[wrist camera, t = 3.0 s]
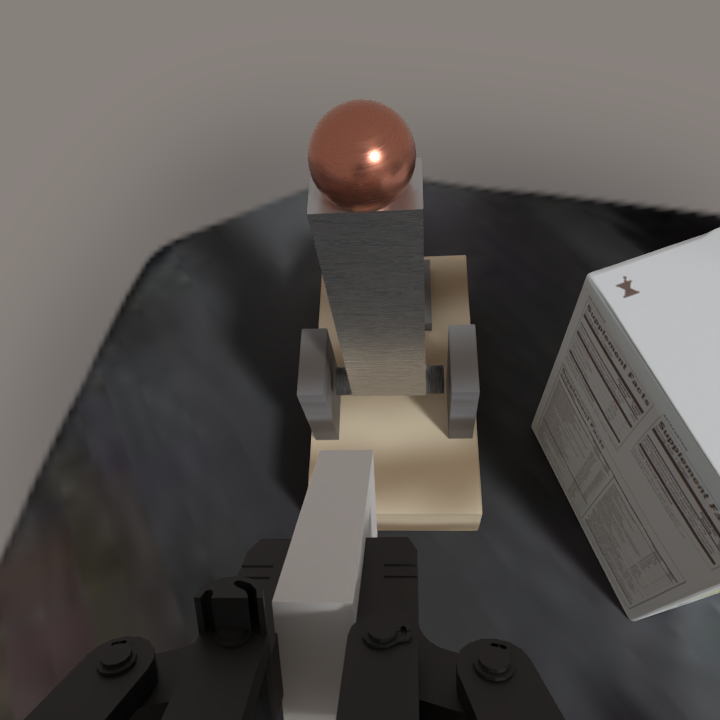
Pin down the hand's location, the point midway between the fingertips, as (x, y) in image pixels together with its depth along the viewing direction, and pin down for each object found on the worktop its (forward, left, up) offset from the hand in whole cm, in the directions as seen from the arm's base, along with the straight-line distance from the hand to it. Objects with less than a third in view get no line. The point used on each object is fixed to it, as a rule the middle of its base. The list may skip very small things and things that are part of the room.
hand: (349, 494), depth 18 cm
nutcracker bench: (-5, -12, -23) cm, 26 cm away
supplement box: (-19, -1, -23) cm, 30 cm away
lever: (-4, -11, -16) cm, 19 cm away
